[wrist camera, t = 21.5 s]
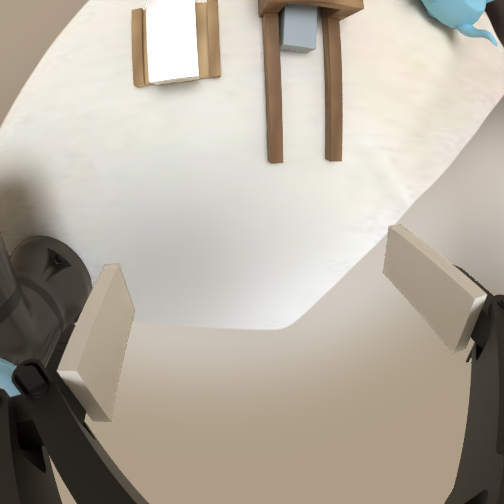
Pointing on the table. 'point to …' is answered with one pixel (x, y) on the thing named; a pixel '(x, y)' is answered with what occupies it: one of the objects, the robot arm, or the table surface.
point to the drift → (297, 27)
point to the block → (172, 41)
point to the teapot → (459, 15)
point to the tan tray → (205, 43)
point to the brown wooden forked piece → (333, 10)
